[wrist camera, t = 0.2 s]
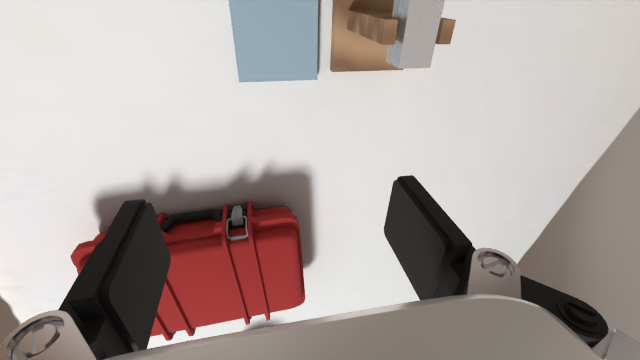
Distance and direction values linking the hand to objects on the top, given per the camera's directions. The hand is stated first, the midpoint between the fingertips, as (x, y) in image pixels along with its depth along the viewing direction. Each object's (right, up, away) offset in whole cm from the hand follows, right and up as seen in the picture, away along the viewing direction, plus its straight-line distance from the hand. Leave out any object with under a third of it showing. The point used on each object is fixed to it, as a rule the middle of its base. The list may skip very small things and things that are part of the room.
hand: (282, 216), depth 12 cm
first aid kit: (-19, -12, +42) cm, 48 cm away
